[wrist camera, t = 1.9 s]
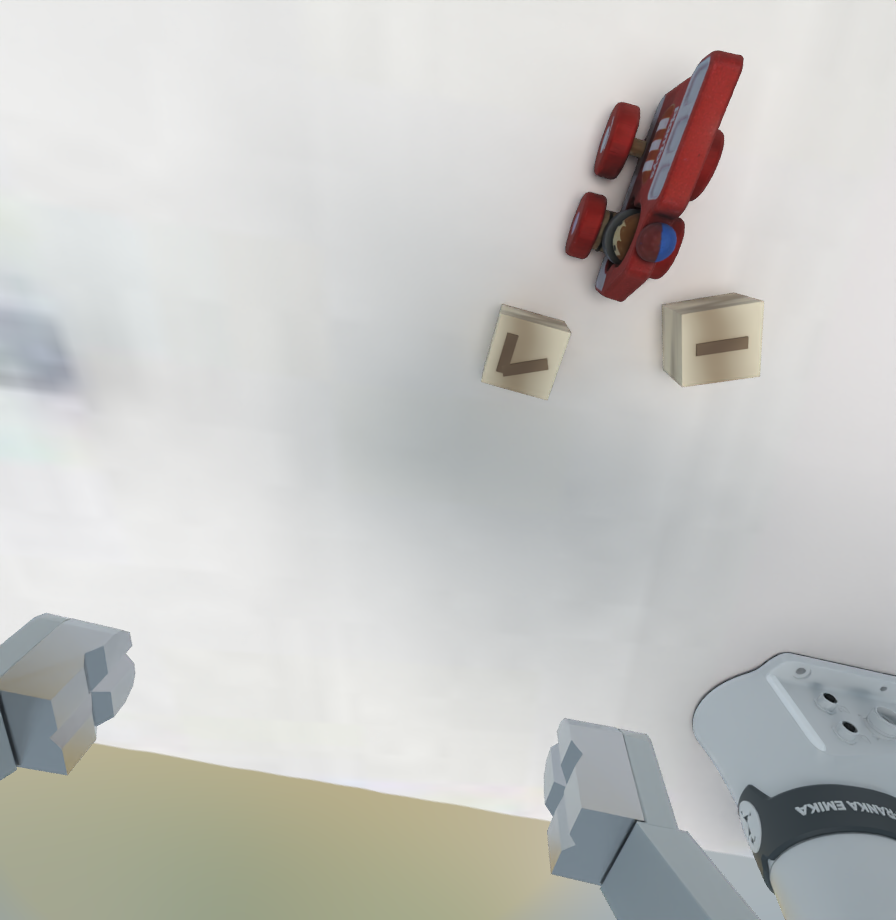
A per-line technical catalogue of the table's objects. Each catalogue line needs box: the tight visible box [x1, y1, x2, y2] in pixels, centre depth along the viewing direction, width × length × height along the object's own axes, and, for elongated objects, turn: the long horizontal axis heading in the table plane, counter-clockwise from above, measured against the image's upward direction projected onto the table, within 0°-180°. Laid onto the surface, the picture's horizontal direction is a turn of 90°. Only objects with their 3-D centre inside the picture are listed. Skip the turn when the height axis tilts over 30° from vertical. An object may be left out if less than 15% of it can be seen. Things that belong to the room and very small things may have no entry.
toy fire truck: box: [566, 51, 744, 302], centre depth 31 cm, size 7×12×10 cm, turn 165°
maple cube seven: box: [481, 304, 571, 400], centre depth 38 cm, size 5×5×5 cm
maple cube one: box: [662, 293, 764, 387], centre depth 36 cm, size 5×5×5 cm
